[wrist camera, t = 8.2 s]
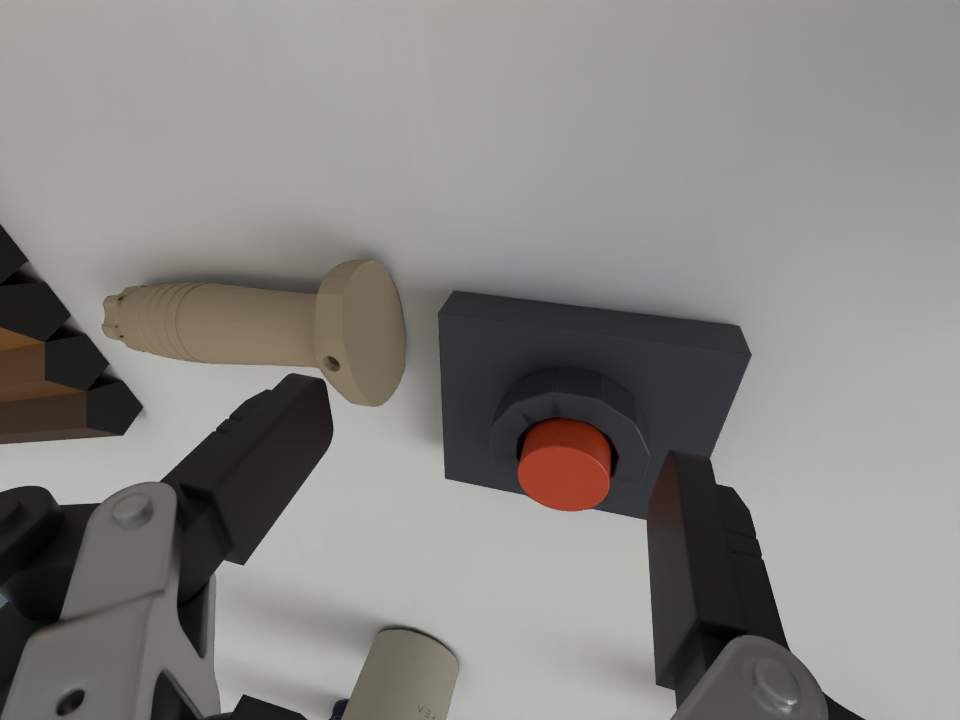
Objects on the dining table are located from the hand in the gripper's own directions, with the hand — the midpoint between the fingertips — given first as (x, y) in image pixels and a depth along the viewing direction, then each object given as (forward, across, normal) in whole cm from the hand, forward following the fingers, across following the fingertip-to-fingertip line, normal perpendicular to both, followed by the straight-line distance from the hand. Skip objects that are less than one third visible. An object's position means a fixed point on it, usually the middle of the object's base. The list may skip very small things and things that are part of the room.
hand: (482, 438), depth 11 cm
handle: (+9, +22, +5) cm, 24 cm away
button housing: (+11, -2, +6) cm, 13 cm away
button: (+7, -2, +6) cm, 10 cm away
